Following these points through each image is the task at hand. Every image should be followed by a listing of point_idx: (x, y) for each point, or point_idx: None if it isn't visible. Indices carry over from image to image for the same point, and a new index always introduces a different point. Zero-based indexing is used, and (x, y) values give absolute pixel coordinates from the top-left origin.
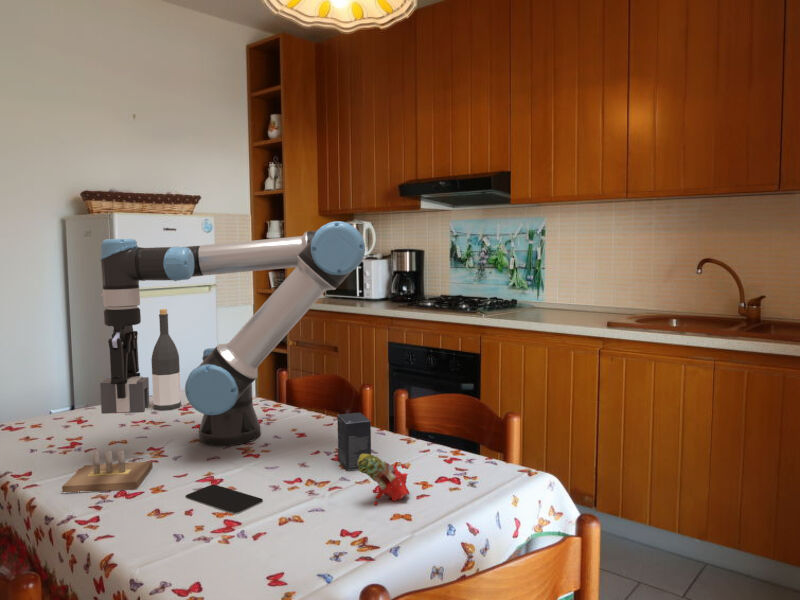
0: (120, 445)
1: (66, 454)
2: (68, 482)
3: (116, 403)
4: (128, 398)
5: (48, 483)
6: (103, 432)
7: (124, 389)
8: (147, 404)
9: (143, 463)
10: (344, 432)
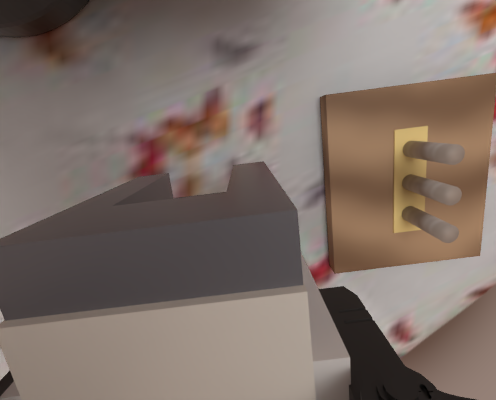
0: None
1: None
2: (456, 253)
3: None
4: (307, 267)
5: (392, 307)
6: None
7: (353, 333)
8: (162, 179)
9: (343, 115)
10: None
